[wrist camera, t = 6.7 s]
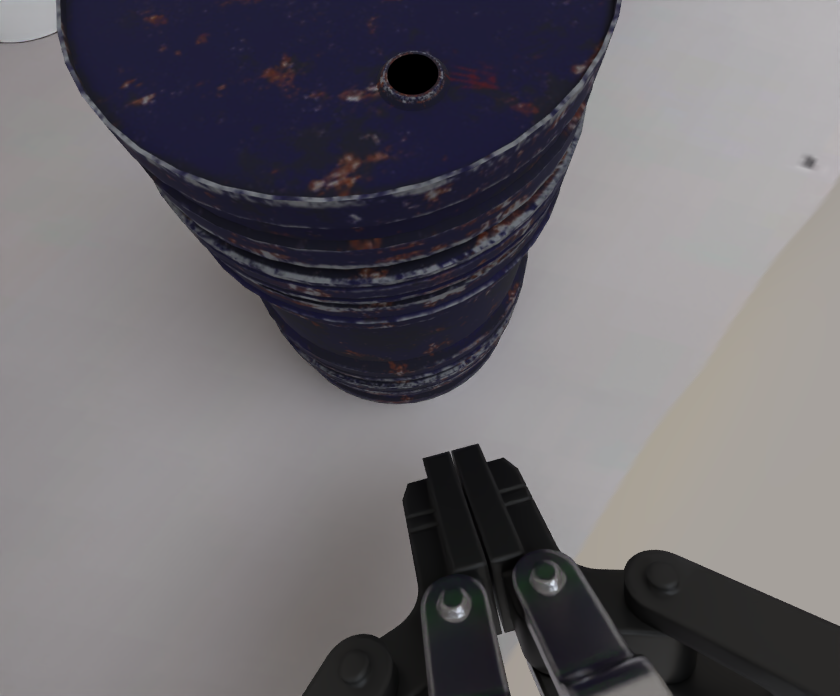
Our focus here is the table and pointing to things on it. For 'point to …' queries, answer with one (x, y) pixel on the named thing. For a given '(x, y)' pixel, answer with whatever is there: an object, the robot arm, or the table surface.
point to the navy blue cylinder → (354, 158)
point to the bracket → (27, 19)
